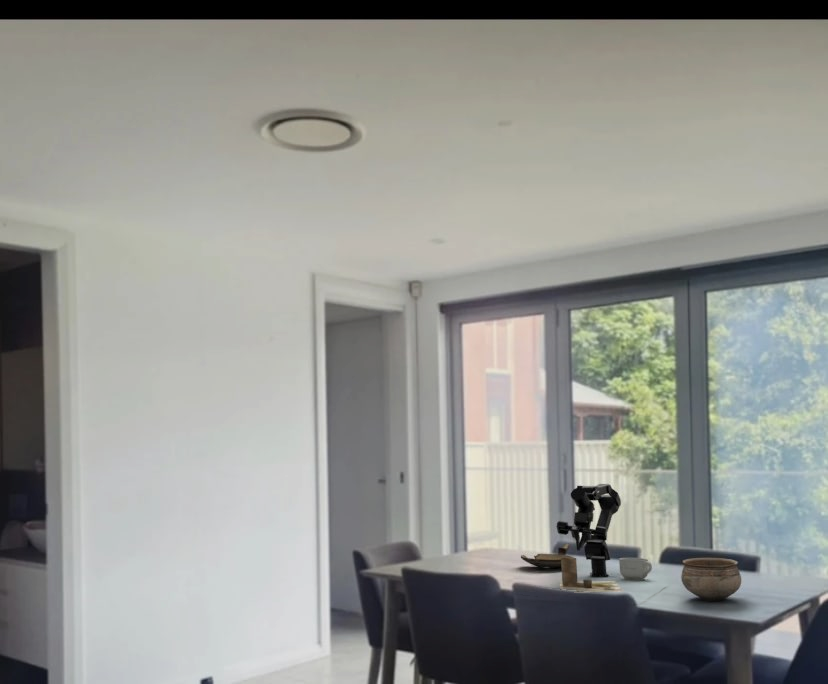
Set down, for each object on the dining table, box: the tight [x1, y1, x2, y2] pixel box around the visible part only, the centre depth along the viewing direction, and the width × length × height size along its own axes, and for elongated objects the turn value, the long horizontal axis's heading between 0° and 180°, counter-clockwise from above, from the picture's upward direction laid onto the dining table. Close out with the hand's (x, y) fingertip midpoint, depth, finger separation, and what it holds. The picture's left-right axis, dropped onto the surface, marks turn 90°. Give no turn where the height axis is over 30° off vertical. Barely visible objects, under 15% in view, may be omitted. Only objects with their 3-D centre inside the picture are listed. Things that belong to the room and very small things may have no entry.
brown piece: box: [560, 557, 611, 588], centre depth 292 cm, size 18×3×10 cm, turn 58°
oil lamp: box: [520, 543, 575, 569], centre depth 346 cm, size 22×30×8 cm
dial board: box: [558, 580, 624, 593], centre depth 293 cm, size 20×21×1 cm
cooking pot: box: [680, 557, 742, 602], centre depth 269 cm, size 25×19×12 cm
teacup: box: [618, 557, 653, 581], centre depth 308 cm, size 14×11×8 cm
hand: (578, 550), depth 304 cm, fingers closed
